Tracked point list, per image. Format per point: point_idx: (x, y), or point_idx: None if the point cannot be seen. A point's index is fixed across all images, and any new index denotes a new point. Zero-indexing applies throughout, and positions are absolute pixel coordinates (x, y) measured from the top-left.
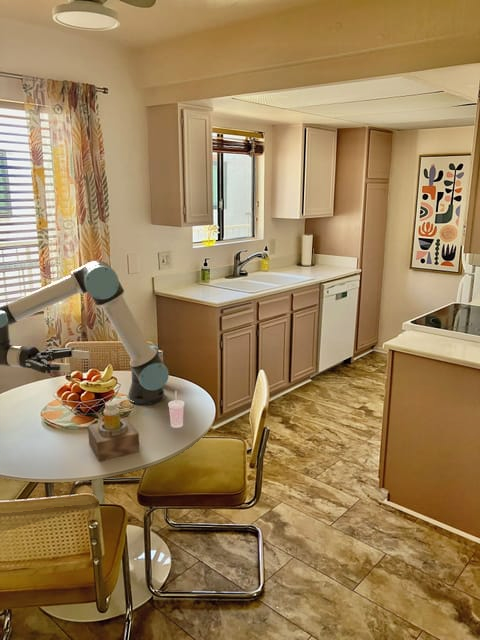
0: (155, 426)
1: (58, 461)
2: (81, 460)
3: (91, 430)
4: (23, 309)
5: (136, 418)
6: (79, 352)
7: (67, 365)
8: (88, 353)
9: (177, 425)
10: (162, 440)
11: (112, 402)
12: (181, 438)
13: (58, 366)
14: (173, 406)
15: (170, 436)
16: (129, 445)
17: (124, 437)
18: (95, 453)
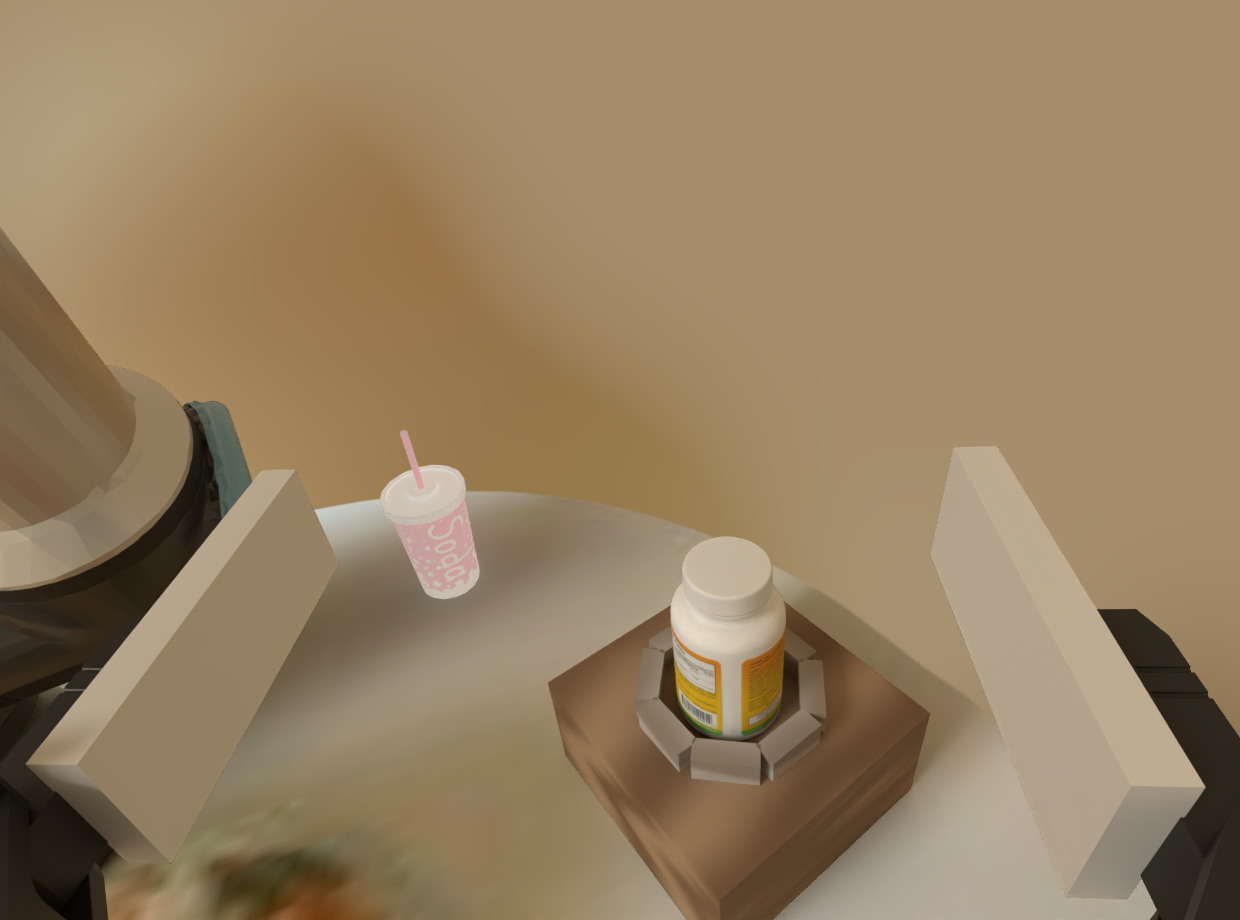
0: (462, 654)
1: None
2: (951, 907)
3: (791, 827)
4: None
5: (344, 783)
6: (215, 616)
7: (1003, 477)
8: (304, 493)
9: (477, 560)
10: (608, 587)
11: (710, 561)
12: (580, 533)
13: (1121, 609)
14: (460, 489)
15: (566, 570)
16: None
17: (794, 613)
18: (861, 828)
